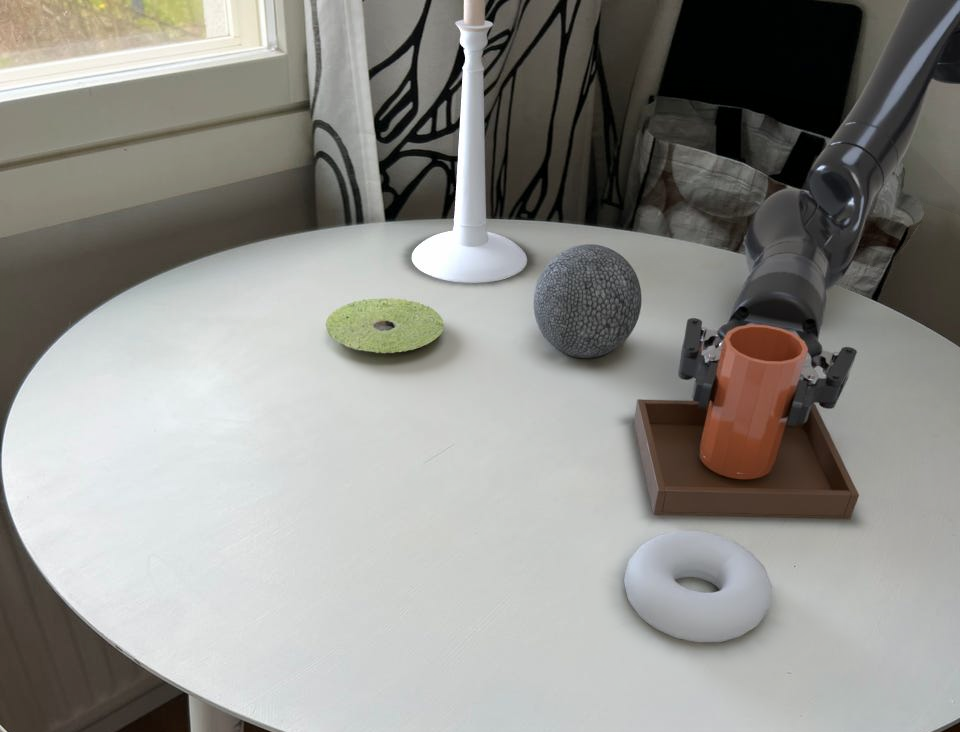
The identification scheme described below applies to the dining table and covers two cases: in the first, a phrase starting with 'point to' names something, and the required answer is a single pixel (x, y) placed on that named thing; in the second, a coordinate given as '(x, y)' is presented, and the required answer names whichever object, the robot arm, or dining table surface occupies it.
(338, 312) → the green disc
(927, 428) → the dining table surface
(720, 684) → the dining table surface
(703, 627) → the donut
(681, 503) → the tray
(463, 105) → the candlestick
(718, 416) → the cup
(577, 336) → the decorative ball
